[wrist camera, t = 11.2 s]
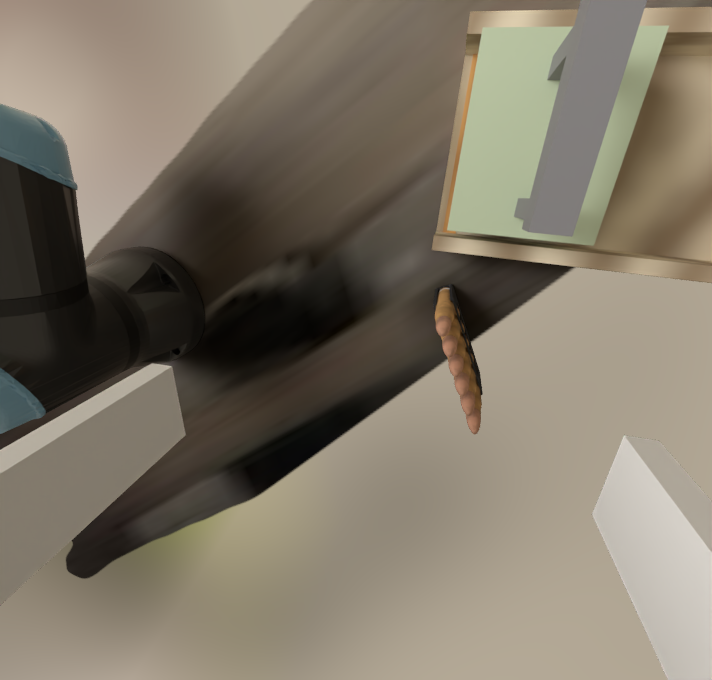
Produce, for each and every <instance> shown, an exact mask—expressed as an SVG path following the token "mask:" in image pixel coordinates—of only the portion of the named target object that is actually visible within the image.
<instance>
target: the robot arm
mask: <svg viewBox="0 0 712 680" xmlns="http://www.w3.org/2000/svg"><path fill="white" fill-rule="evenodd" d="M76 190H77V184H76V183H75V182H74V179H73V175H72V170H71V165H70V161H69V156H68V151H67V145H66V143H65V140H64V138H63V137H62V135H61V134H60V133H59V131H57V129H56V128H55V127H53V126H52V125H51V124H50V123H48V122H47V121H45V120H43V119H42V118H40V117H37V116H35V115H32V114H29V113H26V112H24V111H21V110H18V109H15V108H12V107H9V106H6V105H3V104H0V434H1V433H4V432H6V431H8V430H10V429H12V428H15V427H17V426H19V425H21V424H23V423H25V422H28V421H30V420H32V419H38V418H41V417H42V416H43V415H45V414H46V413H48V412H49V411H51V410H53V409H55V408H57V407H59V406H60V405H62V404H64V403H66V402H68V401H70V400H72V399H73V398H75V397H77V396H79V395H81V394H83V393H85V392H86V391H88V390H90V389H92V388H94V387H96V386H97V385H99V384H101V383H103V382H105V381H107V380H109V379H110V378H112V377H114V376H116V375H118V374H119V373H121V372H123V371H125V370H127V369H129V368H133V367H139V366H145V365H148V366H147V367H145V368H143V369H141V370H140V371H138V372H136V373H134V374H133V375H131V376H129V377H127V378H126V379H124V380H122V381H120V382H119V383H117V384H115V385H113V386H112V387H110V388H108V389H106V390H105V391H103V392H101V393H99V394H98V395H96V396H94V397H92V398H91V399H89V400H87V401H85V402H84V403H82V404H80V405H78V406H77V407H75V408H73V409H71V410H70V411H68V412H66V413H64V414H63V415H61V416H59V417H57V418H56V419H54V420H52V421H50V422H49V423H47V424H45V425H43V426H42V427H40V428H38V429H36V430H35V431H33V432H31V433H29V434H28V435H26V436H24V437H22V438H21V439H19V440H17V441H15V442H14V443H12V444H10V445H8V446H7V447H5V448H3V449H0V606H1V605H2V604H3V603H4V602H5V601H6V600H7V599H8V598H9V597H10V596H11V595H12V594H13V593H15V592H16V591H17V590H18V589H19V588H20V587H21V586H22V585H23V584H24V583H25V582H27V580H29V579H30V578H31V577H32V576H33V575H34V574H35V573H36V572H37V571H39V570H40V569H41V568H42V567H43V566H44V565H45V564H46V563H47V562H48V561H49V560H50V559H52V558H53V557H54V556H55V555H56V554H57V553H58V552H59V551H60V550H61V549H62V548H63V547H64V546H66V545H67V544H68V543H69V542H70V541H71V540H72V539H73V538H74V537H75V536H76V535H78V534H79V533H80V532H81V531H82V530H83V529H84V528H85V527H86V526H87V525H88V524H90V523H91V522H92V521H93V520H94V519H95V518H96V517H97V516H98V515H99V514H100V513H101V512H103V511H104V510H105V509H106V508H107V507H108V506H109V505H110V504H111V503H112V502H113V501H114V500H116V499H117V498H118V497H119V496H120V495H121V494H122V493H123V492H124V491H125V490H126V489H127V488H129V487H130V486H131V485H132V484H133V483H134V482H135V481H136V480H137V479H138V478H139V477H141V476H142V475H143V474H144V473H145V472H146V471H147V470H148V469H149V468H150V467H151V466H152V465H154V464H155V463H156V462H157V461H158V460H159V459H160V458H161V457H162V456H163V455H164V454H165V453H167V452H168V451H169V450H170V449H171V448H172V447H173V446H174V445H175V444H176V443H177V442H178V441H180V440H181V439H182V438H183V437H184V436H185V430H184V425H183V420H182V414H181V409H180V404H179V399H178V394H177V389H176V384H175V379H174V374H173V369H172V366H166V365H160V364H158V363H164V362H169V361H172V360H175V359H177V358H179V357H181V356H183V355H184V354H186V353H188V352H189V351H191V350H192V349H193V348H194V347H195V346H196V345H197V344H198V342H199V341H200V339H201V336H202V334H203V330H204V322H205V317H204V308H203V304H202V300H201V297H200V295H199V292H198V290H197V288H196V286H195V284H194V283H193V281H192V279H191V278H190V276H189V275H188V274H187V272H186V271H185V270H184V269H183V268H182V267H181V266H180V265H179V264H178V263H177V262H176V261H174V260H173V259H172V258H170V257H169V256H167V255H166V254H164V253H162V252H160V251H158V250H155V249H152V248H148V247H133V248H126V249H120V250H117V251H114V252H112V253H110V254H108V255H106V256H105V257H103V258H101V259H100V260H98V261H96V262H95V263H93V264H92V265H90V266H88V267H87V268H86V265H85V258H84V251H83V244H82V237H81V230H80V224H79V216H78V207H77V199H76ZM592 516H593V518H594V520H595V523H596V525H597V527H598V529H599V531H600V533H601V536H602V538H603V540H604V542H605V544H606V546H607V549H608V551H609V553H610V555H611V557H612V560H613V562H614V564H615V566H616V568H617V570H618V573H619V575H620V577H621V579H622V581H623V583H624V586H625V588H626V590H627V592H628V594H629V597H630V599H631V601H632V603H633V605H634V607H635V609H636V612H637V613H638V616H639V618H640V620H641V623H642V625H643V627H644V629H645V631H646V633H647V636H648V638H649V640H650V642H651V644H652V646H653V649H654V651H655V653H656V655H657V657H658V660H659V662H660V664H661V666H662V668H663V670H664V673H665V675H666V677H667V679H668V680H712V501H711V500H710V498H709V497H708V496H707V495H706V494H705V493H704V492H703V490H702V489H701V488H700V487H699V486H698V485H697V484H696V482H695V481H694V480H693V479H692V478H691V477H690V475H689V474H688V473H687V472H686V471H685V470H684V469H683V468H682V467H681V465H680V464H679V463H678V462H677V461H676V460H675V458H674V457H673V456H672V455H671V454H670V453H669V451H668V450H667V449H666V448H665V447H664V446H663V445H662V444H661V442H660V441H659V440H652V439H646V438H639V437H632V436H626V435H624V437H623V439H622V441H621V444H620V446H619V449H618V451H617V454H616V456H615V459H614V461H613V464H612V466H611V469H610V471H609V473H608V476H607V478H606V481H605V483H604V486H603V488H602V491H601V494H600V496H599V498H598V501H597V503H596V506H595V508H594V511H593V513H592Z"/></svg>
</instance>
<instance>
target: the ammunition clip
mask: <svg viewBox="0 0 712 680" xmlns="http://www.w3.org/2000/svg"><path fill="white" fill-rule="evenodd" d="M433 306H434V309H435V320H436V329H437V332H438V334H439V335H440V336H441V339H442V343H443V345H442V346H443V351H444V353H445V355H446V356H447V357H448V362H449V369H450V372H451V373H452V375H453V376H454V380H455V387H456V390H457V392H458V393H459V395H460V399H461V405H462V408H463V410H464V412H465V413H466V419H467V423H468V426H469V429H470V430H471V431H472V433H473V434H476V433H477V432H478V430H479V427H480V422H481V405H482V403H481V395H482V386H481V379H480V372H479V369H478V365H477V362H476V359H475V355H474V352H473V349H472V346H471V342H470V339H469V336H468V333H467V329H466V326H465V323H464V319H463V316H462V313H461V310H460V306H459V303H458V300H457V296H456V293H455V290H454V287H453V285H452V284H450V285H447V286H444V287H441V288H437V289H436V290H435V296H434V303H433Z"/></svg>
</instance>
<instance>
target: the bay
mask: <svg viewBox="0 0 712 680" xmlns="http://www.w3.org/2000/svg"><path fill="white" fill-rule="evenodd" d="M577 13H578V9H577V10H525V11H474V12H470V18H469V24H468V30H467V39H466V54H465V60H464V66H463V73H462V79H461V85H460V91H459V97H458V103H457V109H456V115H455V121H454V127H453V133H452V139H451V145H450V151H449V157H448V163H447V170H446V176H445V182H444V188H443V194H442V200H441V206H440V212H439V218H438V224H437V230H436V233H435V235H434V239H433V245H432V250H437V251H446V252H454V253H462V254H471V255H479V256H488V257H496V258H505V259H513V260H521V261H530V262H538V263H547V264H555V265H563V266H572V267H580V268H589V269H597V270H606V271H614V272H623V273H631V274H639V275H648V276H656V277H665V278H673V279H681V280H691V281H699V282H707V283H712V7H679V8H644V12H643V15H642V18H641V21H640V24H639V26H669V28H668V31H667V34H666V37H665V39H664V42H663V45H662V48H661V51H660V54H659V57H658V60H657V63H656V66H655V69H654V72H653V74H652V77H651V80H650V83H649V86H648V89H647V92H646V95H645V98H644V101H643V104H642V107H641V109H640V112H639V115H638V118H637V121H636V124H635V127H634V130H633V133H632V136H631V139H630V142H629V144H628V147H627V150H626V153H625V156H624V159H623V162H622V165H621V168H620V171H619V174H618V177H617V179H616V182H615V185H614V188H613V191H612V194H611V197H610V200H609V203H608V206H607V209H606V212H605V214H604V217H603V220H602V223H601V226H600V229H599V232H598V235H597V238H596V241H595V244H594V246H590V245H581V244H572V243H562V242H553V241H543V240H534V239H525V238H515V237H506V236H496V235H487V234H478V233H468V232H459V231H449V230H447V227H448V222H449V216H450V210H451V205H452V199H453V193H454V188H455V182H456V176H457V171H458V165H459V159H460V154H461V148H462V142H463V137H464V131H465V125H466V120H467V114H468V108H469V103H470V97H471V91H472V85H473V80H474V74H475V68H476V63H477V57H478V51H479V46H480V40H481V34H482V29H483V27H573V26H574V25H575V21H576V17H577Z"/></svg>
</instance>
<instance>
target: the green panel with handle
mask: <svg viewBox="0 0 712 680" xmlns="http://www.w3.org/2000/svg"><path fill="white" fill-rule="evenodd" d="M646 2H647V0H581V1H580V5H579V9H578V13H577V17H576V21H575V25H574V26H573V27H483V29H482V34H481V40H480V46H479V51H478V57H477V63H476V68H475V74H474V80H473V85H472V91H471V97H470V103H469V108H468V114H467V120H466V125H465V131H464V137H463V142H462V148H461V154H460V159H459V165H458V171H457V176H456V182H455V188H454V193H453V199H452V205H451V210H450V216H449V222H448V227H447V230H449V231H459V232H468V233H478V234H487V235H496V236H506V237H515V238H525V239H534V240H543V241H553V242H562V243H572V244H581V245H590V246H594V244H595V241H596V238H597V235H598V232H599V229H600V226H601V223H602V220H603V217H604V214H605V212H606V209H607V206H608V203H609V200H610V197H611V194H612V191H613V188H614V185H615V182H616V179H617V177H618V174H619V171H620V168H621V165H622V162H623V159H624V156H625V153H626V150H627V147H628V144H629V142H630V139H631V136H632V133H633V130H634V127H635V124H636V121H637V118H638V115H639V112H640V109H641V107H642V104H643V101H644V98H645V95H646V92H647V89H648V86H649V83H650V80H651V77H652V74H653V72H654V69H655V66H656V63H657V60H658V57H659V54H660V51H661V48H662V45H663V42H664V39H665V37H666V34H667V31H668V28H669V26H639V24H640V21H641V18H642V15H643V12H644V8H645V5H646Z"/></svg>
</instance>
